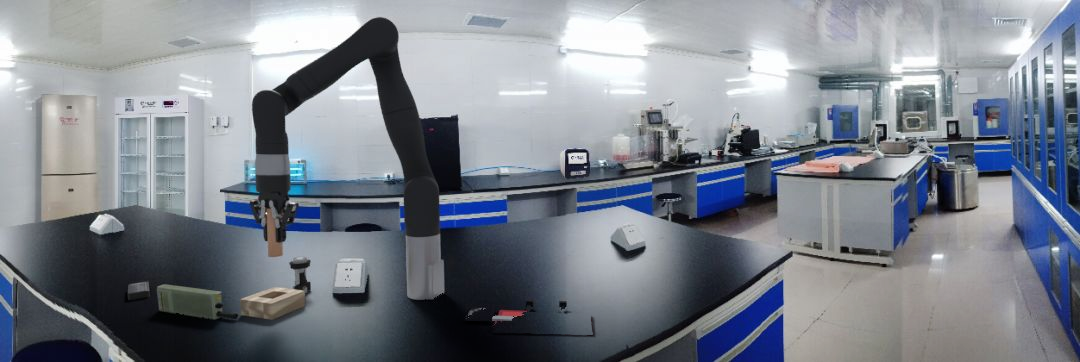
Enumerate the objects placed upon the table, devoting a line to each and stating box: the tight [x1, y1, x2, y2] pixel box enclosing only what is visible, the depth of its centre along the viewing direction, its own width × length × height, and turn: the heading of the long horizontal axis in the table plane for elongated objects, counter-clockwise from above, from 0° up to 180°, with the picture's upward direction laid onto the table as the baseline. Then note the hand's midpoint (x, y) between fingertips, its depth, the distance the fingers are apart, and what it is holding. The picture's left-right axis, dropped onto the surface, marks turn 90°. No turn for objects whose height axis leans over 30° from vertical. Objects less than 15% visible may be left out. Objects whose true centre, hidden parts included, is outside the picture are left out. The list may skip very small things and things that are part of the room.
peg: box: [267, 208, 284, 258], centre depth 115 cm, size 3×3×12 cm
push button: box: [288, 256, 312, 294], centre depth 129 cm, size 7×5×10 cm
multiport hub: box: [127, 281, 151, 301], centre depth 130 cm, size 4×11×2 cm, turn 41°
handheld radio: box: [156, 284, 239, 320], centre depth 114 cm, size 7×3×25 cm
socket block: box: [239, 286, 306, 320], centre depth 117 cm, size 10×10×4 cm
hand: (274, 241), depth 115 cm, fingers closed on peg, 3 cm apart
